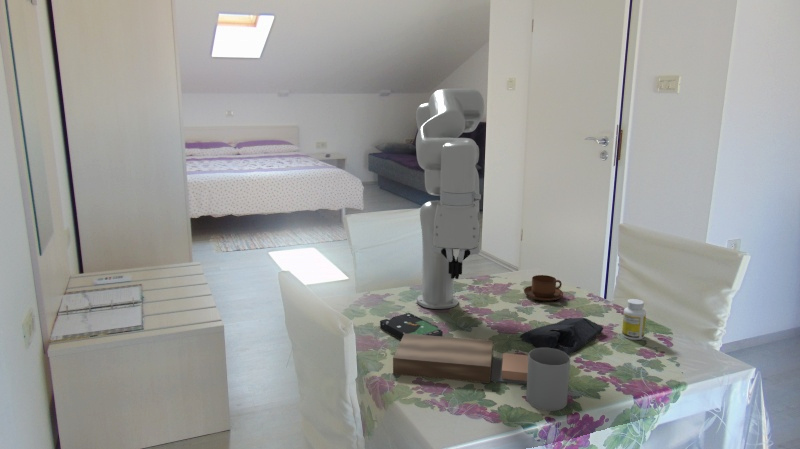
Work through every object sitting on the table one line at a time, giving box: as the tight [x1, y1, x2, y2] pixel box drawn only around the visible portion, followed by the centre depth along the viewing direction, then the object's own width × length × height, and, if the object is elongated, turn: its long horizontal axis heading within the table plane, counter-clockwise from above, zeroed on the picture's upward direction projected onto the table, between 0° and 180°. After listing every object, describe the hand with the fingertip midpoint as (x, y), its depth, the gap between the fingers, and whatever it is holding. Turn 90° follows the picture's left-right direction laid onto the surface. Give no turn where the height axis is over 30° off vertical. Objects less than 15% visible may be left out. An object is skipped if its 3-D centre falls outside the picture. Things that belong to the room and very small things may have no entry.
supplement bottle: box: [621, 298, 647, 341], centre depth 154 cm, size 5×5×10 cm
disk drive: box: [379, 312, 444, 341], centre depth 157 cm, size 10×3×15 cm
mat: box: [490, 357, 527, 385], centre depth 135 cm, size 11×12×1 cm
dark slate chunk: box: [519, 317, 604, 356], centre depth 154 cm, size 15×22×5 cm
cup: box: [525, 348, 571, 412], centre depth 122 cm, size 8×8×10 cm
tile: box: [502, 352, 529, 381], centre depth 135 cm, size 9×6×2 cm, turn 168°
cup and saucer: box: [523, 274, 564, 302], centre depth 184 cm, size 12×12×6 cm
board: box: [392, 333, 494, 384], centre depth 138 cm, size 14×22×4 cm, turn 79°
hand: (455, 276), depth 134 cm, fingers closed
